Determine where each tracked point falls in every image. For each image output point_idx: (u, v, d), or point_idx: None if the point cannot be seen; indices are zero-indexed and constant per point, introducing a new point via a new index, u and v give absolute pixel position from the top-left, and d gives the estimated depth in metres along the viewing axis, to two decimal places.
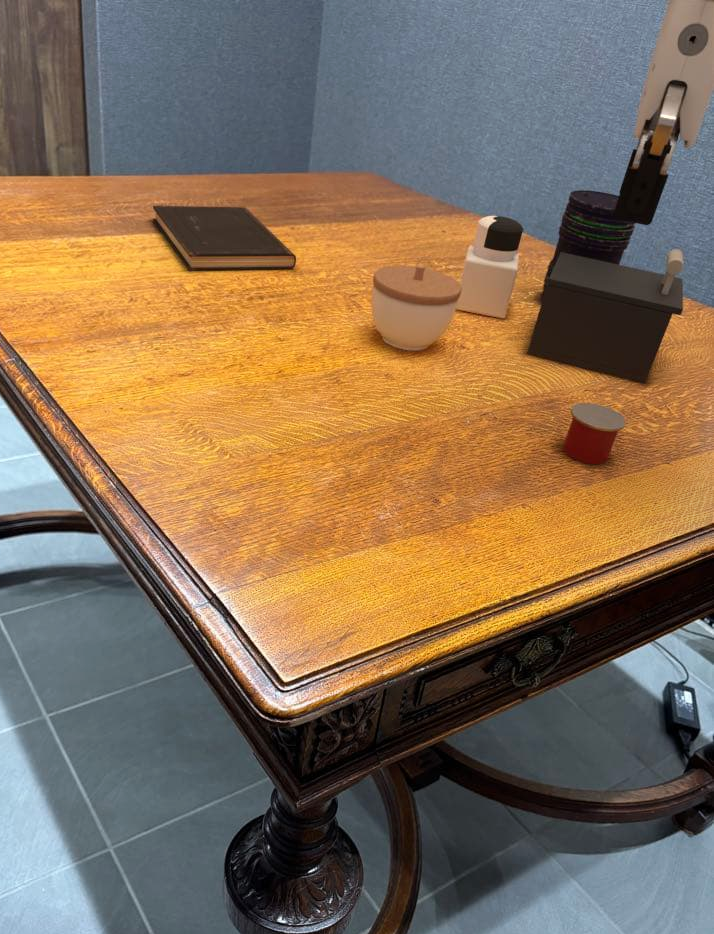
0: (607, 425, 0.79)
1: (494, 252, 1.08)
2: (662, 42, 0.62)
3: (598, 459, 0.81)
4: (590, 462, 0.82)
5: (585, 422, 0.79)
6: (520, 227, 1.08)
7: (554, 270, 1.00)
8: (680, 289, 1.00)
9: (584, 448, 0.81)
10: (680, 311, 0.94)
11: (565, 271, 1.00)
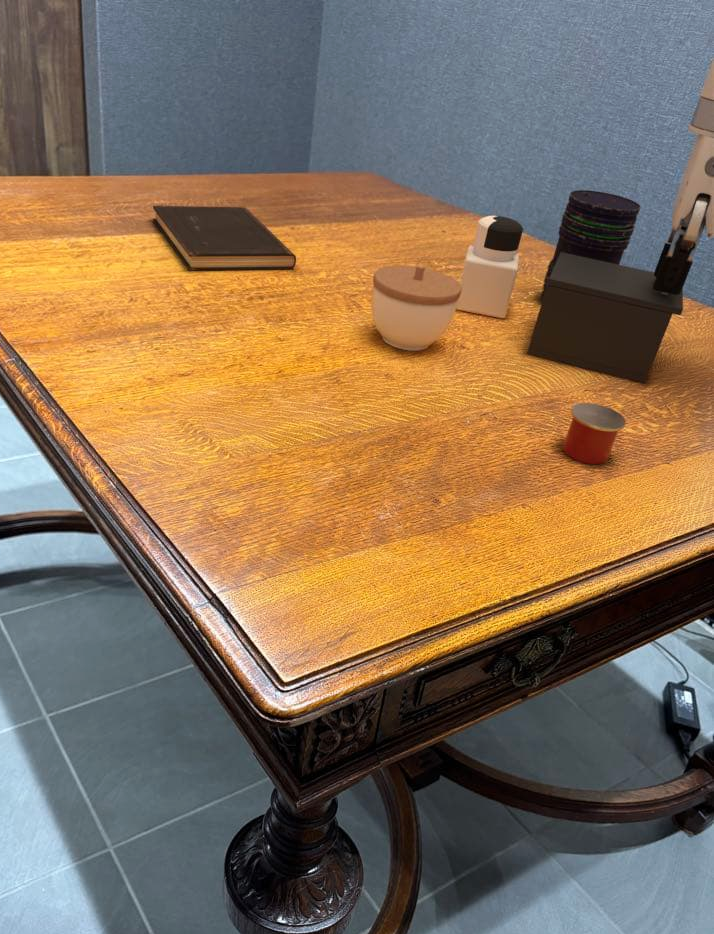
0: (607, 425, 0.79)
1: (494, 252, 1.08)
2: (693, 166, 0.88)
3: (598, 459, 0.81)
4: (590, 462, 0.82)
5: (585, 422, 0.79)
6: (520, 227, 1.08)
7: (554, 270, 1.00)
8: None
9: (584, 448, 0.81)
10: (680, 311, 0.94)
11: (565, 271, 1.00)
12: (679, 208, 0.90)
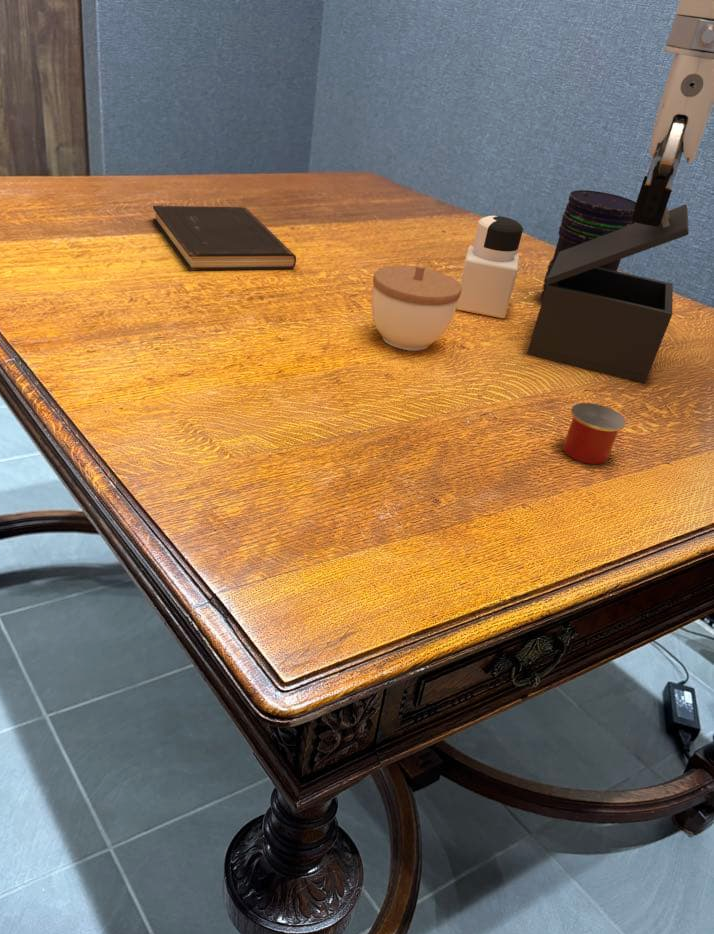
0: (607, 425, 0.79)
1: (494, 252, 1.08)
2: (669, 87, 0.85)
3: (598, 459, 0.81)
4: (590, 462, 0.82)
5: (585, 422, 0.79)
6: (520, 227, 1.08)
7: (552, 269, 1.00)
8: (683, 213, 0.96)
9: (584, 448, 0.81)
10: (686, 231, 0.90)
11: (563, 264, 1.00)
12: (656, 132, 0.87)
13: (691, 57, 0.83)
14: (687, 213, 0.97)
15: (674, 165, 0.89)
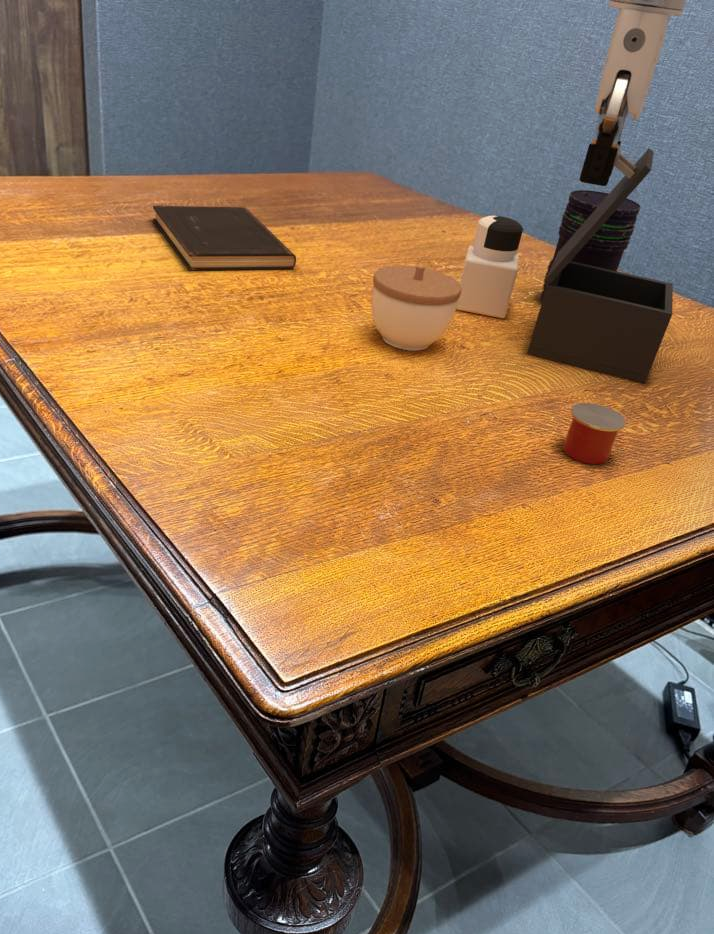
0: (607, 425, 0.79)
1: (494, 252, 1.08)
2: (612, 42, 0.85)
3: (598, 459, 0.81)
4: (590, 462, 0.82)
5: (585, 422, 0.79)
6: (520, 227, 1.08)
7: (550, 269, 1.00)
8: (645, 156, 0.94)
9: (584, 448, 0.81)
10: (646, 168, 0.88)
11: (558, 260, 1.00)
12: (600, 88, 0.87)
13: (633, 11, 0.83)
14: (651, 154, 0.95)
15: (619, 123, 0.89)
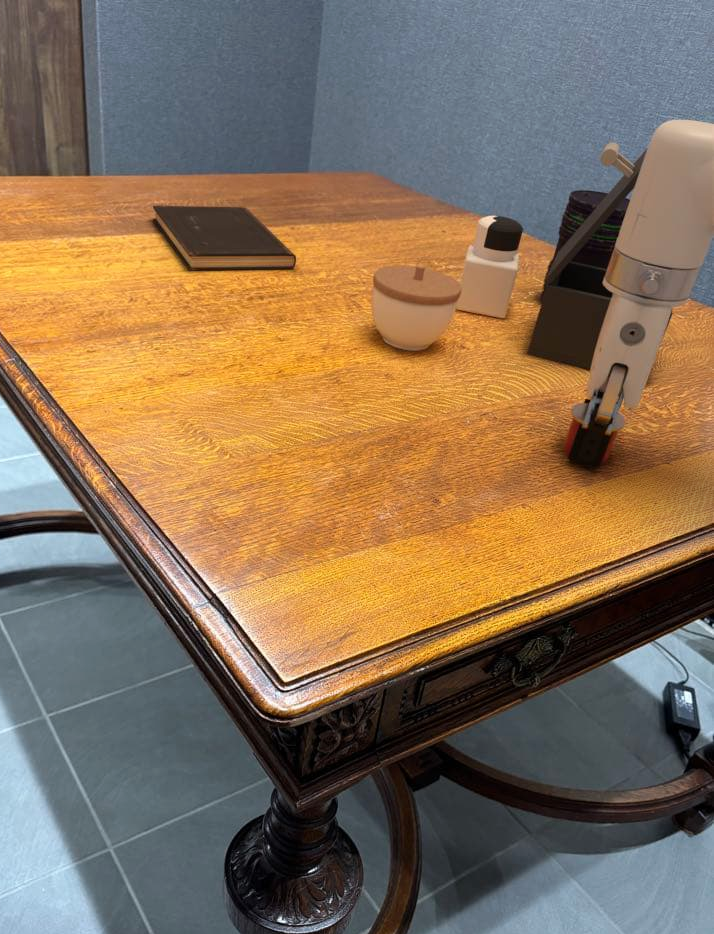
0: None
1: (494, 252, 1.08)
2: (607, 331, 0.72)
3: None
4: None
5: None
6: (520, 227, 1.08)
7: (550, 269, 1.00)
8: (644, 155, 0.94)
9: None
10: None
11: (558, 260, 1.00)
12: (592, 377, 0.75)
13: (631, 303, 0.70)
14: None
15: (614, 410, 0.76)
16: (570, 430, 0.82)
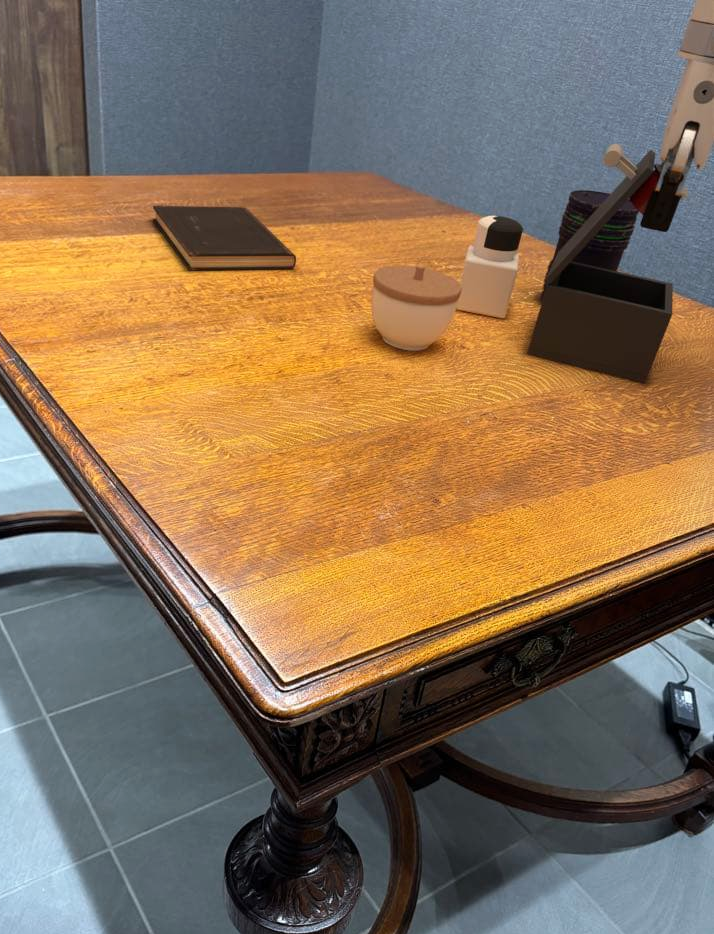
0: None
1: (494, 252, 1.08)
2: (682, 93, 0.85)
3: None
4: None
5: None
6: (520, 227, 1.08)
7: (550, 269, 1.00)
8: (647, 157, 0.94)
9: None
10: (648, 170, 0.88)
11: (558, 260, 1.00)
12: (667, 138, 0.87)
13: (704, 64, 0.83)
14: (653, 155, 0.95)
15: (684, 171, 0.89)
16: (645, 183, 0.93)
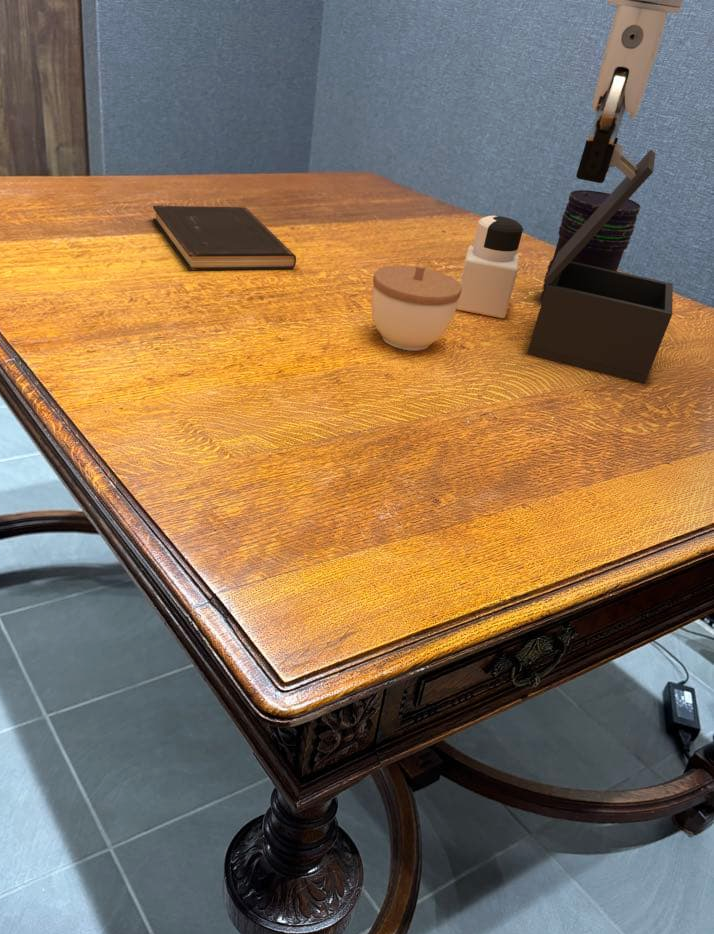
0: None
1: (494, 252, 1.08)
2: (610, 39, 0.85)
3: None
4: None
5: None
6: (520, 227, 1.08)
7: (550, 269, 1.00)
8: (647, 157, 0.94)
9: None
10: (648, 170, 0.88)
11: (558, 260, 1.00)
12: (598, 85, 0.87)
13: (631, 8, 0.83)
14: (653, 155, 0.95)
15: (617, 120, 0.89)
16: None
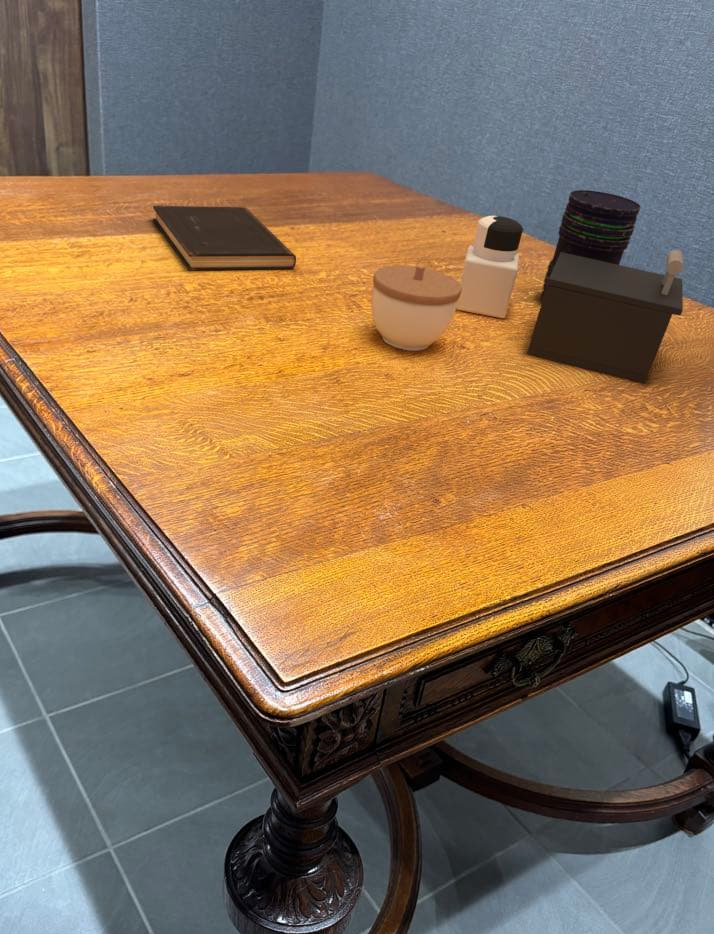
0: None
1: (494, 252, 1.08)
2: None
3: None
4: None
5: None
6: (520, 227, 1.08)
7: (554, 270, 1.00)
8: (680, 289, 1.00)
9: None
10: (680, 311, 0.94)
11: (565, 271, 1.00)
12: None
13: None
14: None
15: None
16: None
